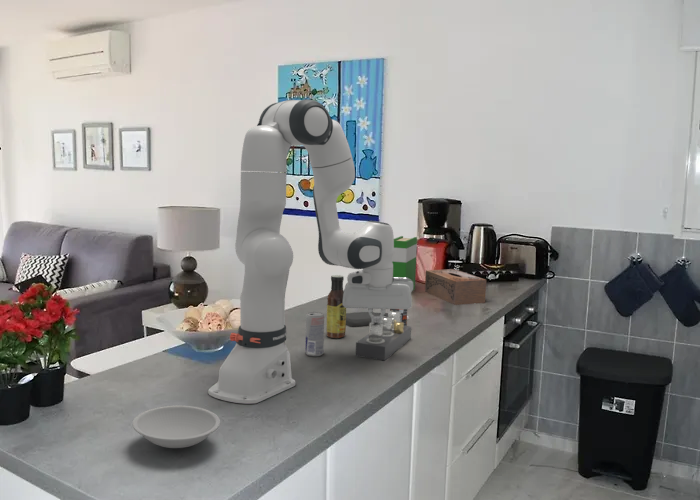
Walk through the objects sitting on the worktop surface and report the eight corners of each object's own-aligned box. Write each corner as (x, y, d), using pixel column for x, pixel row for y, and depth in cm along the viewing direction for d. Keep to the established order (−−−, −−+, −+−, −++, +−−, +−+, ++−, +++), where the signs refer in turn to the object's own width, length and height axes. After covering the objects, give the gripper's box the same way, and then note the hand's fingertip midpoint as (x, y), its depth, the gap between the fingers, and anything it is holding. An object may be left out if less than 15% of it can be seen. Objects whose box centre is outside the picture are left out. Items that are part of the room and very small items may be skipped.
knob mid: (388, 336, 175) (389, 319, 174) (376, 334, 176) (377, 317, 175) (393, 332, 178) (393, 316, 177) (381, 331, 180) (381, 314, 179)
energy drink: (315, 349, 173) (315, 310, 172) (327, 354, 170) (328, 314, 168) (301, 353, 170) (302, 313, 168) (313, 357, 166) (314, 317, 164)
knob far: (397, 329, 182) (398, 313, 181) (385, 327, 183) (386, 311, 183) (401, 326, 185) (402, 310, 185) (390, 324, 187) (390, 309, 186)
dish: (114, 451, 110) (113, 426, 109) (168, 421, 123) (167, 399, 122) (187, 473, 103) (187, 447, 102) (236, 440, 115) (236, 416, 115)
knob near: (379, 343, 167) (379, 325, 167) (366, 341, 169) (367, 323, 168) (384, 339, 171) (384, 322, 170) (371, 337, 173) (372, 320, 172)
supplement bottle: (405, 331, 194) (406, 299, 193) (388, 330, 196) (389, 297, 194) (407, 327, 200) (408, 295, 199) (390, 325, 201) (391, 294, 200)
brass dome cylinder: (401, 334, 178) (401, 324, 177) (392, 332, 179) (392, 323, 178) (404, 331, 180) (404, 322, 180) (395, 330, 182) (395, 321, 181)
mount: (384, 360, 165) (385, 346, 164) (355, 355, 169) (356, 341, 168) (410, 338, 187) (411, 326, 186) (384, 334, 190) (385, 322, 190)
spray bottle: (337, 321, 207) (395, 315, 219) (351, 329, 198) (411, 322, 209) (337, 313, 207) (396, 308, 218) (351, 320, 197) (411, 315, 208)
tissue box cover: (484, 303, 240) (486, 279, 239) (454, 305, 235) (455, 281, 234) (453, 290, 264) (454, 269, 263) (425, 292, 259) (425, 270, 257)
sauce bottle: (343, 339, 184) (344, 278, 181) (324, 338, 185) (325, 277, 182) (347, 334, 190) (348, 274, 187) (329, 332, 191) (330, 273, 189)
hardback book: (399, 287, 266) (401, 236, 263) (415, 289, 264) (417, 237, 260) (388, 295, 250) (390, 240, 246) (404, 297, 247) (406, 241, 244)
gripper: (412, 275, 170) (411, 321, 172) (343, 273, 171) (342, 319, 173) (414, 279, 164) (412, 326, 166) (342, 277, 164) (341, 325, 166)
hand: (376, 322), depth 169 cm, fingers closed, pressing on knob near
